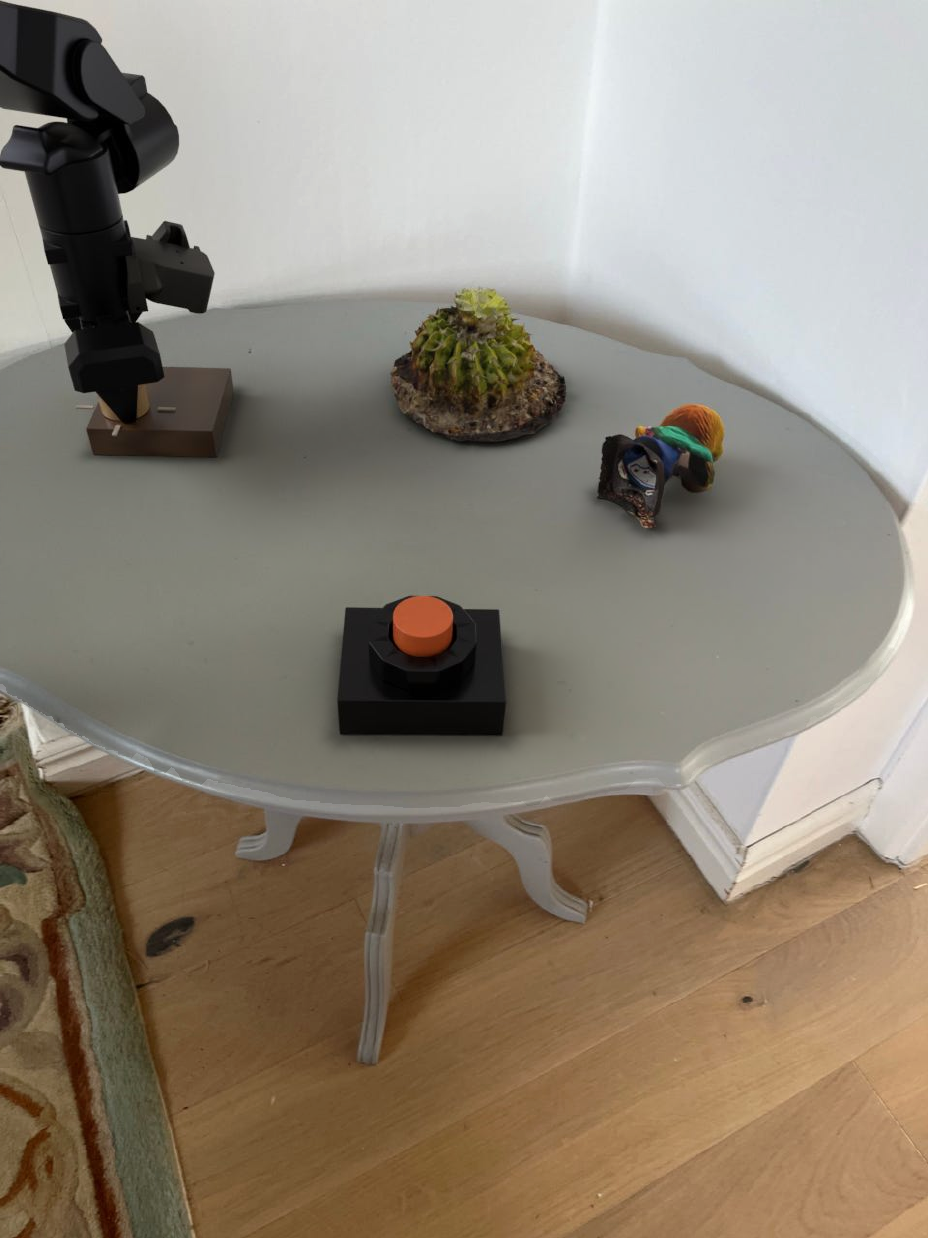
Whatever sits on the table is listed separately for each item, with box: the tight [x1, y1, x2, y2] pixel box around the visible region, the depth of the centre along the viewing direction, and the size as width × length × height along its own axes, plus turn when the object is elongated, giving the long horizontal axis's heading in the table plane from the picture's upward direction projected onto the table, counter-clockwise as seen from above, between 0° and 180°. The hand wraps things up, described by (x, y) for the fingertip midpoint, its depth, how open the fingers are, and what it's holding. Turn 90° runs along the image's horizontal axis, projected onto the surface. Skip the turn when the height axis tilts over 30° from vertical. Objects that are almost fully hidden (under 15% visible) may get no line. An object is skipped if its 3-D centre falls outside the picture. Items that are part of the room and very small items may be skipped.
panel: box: [75, 366, 235, 458], centre depth 81 cm, size 12×11×3 cm
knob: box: [96, 384, 150, 421], centre depth 77 cm, size 4×4×5 cm
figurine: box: [596, 403, 725, 530], centre depth 76 cm, size 11×8×6 cm, turn 122°
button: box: [393, 595, 453, 657], centre depth 58 cm, size 4×4×2 cm
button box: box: [336, 595, 507, 737], centre depth 60 cm, size 10×8×5 cm
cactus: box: [390, 285, 568, 443], centre depth 84 cm, size 17×16×10 cm
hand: (126, 408), depth 79 cm, fingers open, 4 cm apart
